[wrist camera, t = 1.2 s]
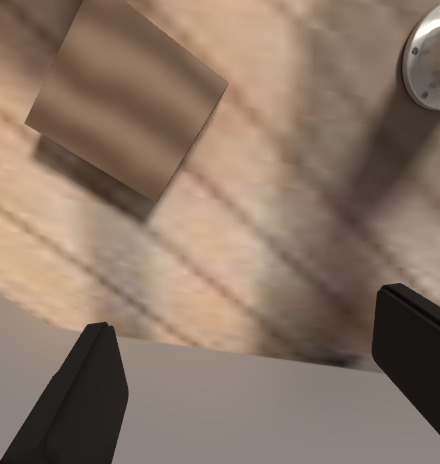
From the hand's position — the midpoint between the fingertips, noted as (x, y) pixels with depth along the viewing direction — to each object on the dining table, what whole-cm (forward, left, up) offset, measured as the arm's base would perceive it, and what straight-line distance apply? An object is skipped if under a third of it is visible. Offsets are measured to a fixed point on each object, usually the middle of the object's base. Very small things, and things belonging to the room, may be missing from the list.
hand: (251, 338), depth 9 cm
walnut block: (-5, -14, -29) cm, 32 cm away
